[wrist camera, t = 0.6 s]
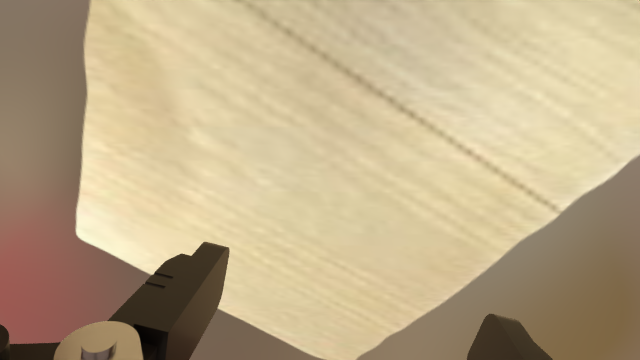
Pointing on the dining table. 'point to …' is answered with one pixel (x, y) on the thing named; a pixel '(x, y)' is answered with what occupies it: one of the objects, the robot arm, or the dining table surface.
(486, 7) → the dining table surface
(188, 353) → the robot arm
